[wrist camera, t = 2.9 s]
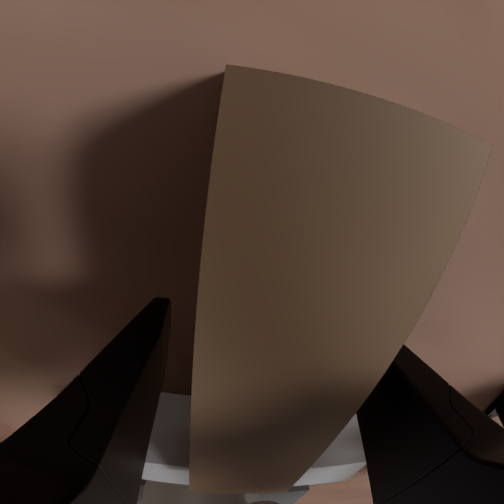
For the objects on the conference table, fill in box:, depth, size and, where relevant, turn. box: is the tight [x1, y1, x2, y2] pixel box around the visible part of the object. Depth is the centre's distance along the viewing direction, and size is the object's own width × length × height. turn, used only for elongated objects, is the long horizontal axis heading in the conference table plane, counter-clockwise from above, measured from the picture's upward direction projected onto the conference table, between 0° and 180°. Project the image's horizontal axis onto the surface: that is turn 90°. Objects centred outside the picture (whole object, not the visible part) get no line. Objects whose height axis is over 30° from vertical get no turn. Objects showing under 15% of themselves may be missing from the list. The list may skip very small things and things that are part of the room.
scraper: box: [142, 65, 493, 494], centre depth 9 cm, size 11×14×4 cm
